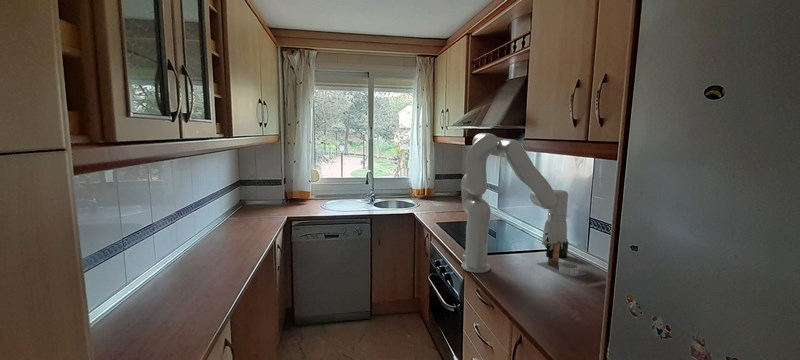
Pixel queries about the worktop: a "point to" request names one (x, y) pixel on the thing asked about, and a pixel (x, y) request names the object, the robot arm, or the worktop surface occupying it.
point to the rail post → (554, 255)
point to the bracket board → (545, 264)
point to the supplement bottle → (564, 250)
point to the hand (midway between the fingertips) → (553, 256)
